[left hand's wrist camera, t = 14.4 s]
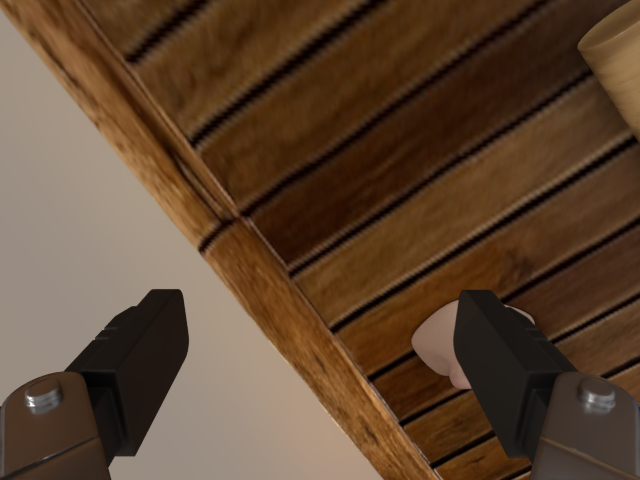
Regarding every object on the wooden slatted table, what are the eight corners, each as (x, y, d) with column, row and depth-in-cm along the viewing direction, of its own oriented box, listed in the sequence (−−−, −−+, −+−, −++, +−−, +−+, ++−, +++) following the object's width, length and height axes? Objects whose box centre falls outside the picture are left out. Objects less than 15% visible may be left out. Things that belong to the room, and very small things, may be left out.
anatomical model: (405, 379, 42) (461, 295, 38) (398, 356, 46) (449, 278, 42) (506, 419, 44) (569, 342, 40) (491, 394, 48) (548, 322, 44)
